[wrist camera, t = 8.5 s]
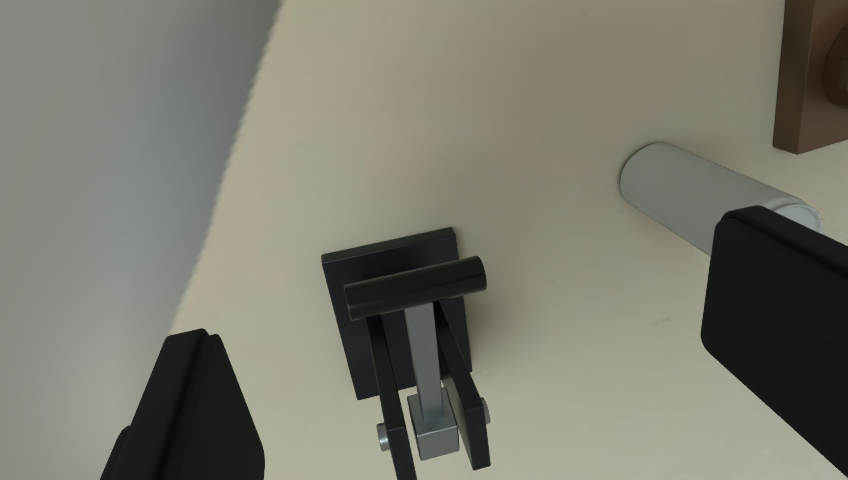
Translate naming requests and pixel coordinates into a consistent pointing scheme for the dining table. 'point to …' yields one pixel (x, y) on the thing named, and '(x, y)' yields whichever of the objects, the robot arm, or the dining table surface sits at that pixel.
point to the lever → (422, 338)
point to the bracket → (406, 344)
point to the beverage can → (700, 193)
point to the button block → (813, 76)
